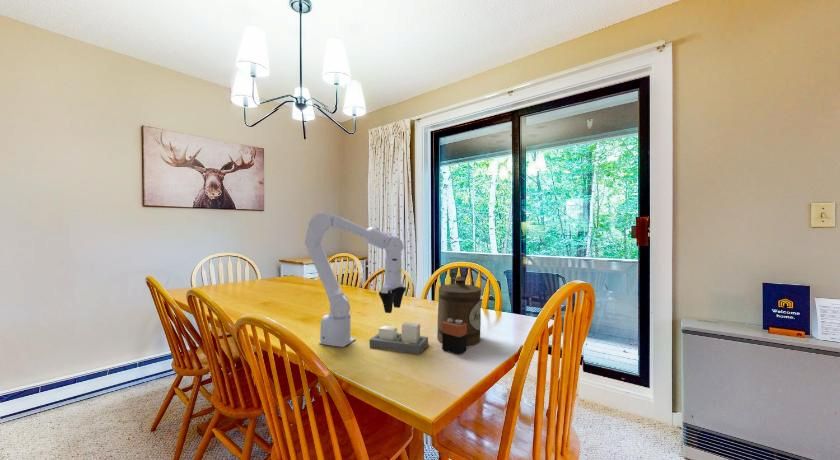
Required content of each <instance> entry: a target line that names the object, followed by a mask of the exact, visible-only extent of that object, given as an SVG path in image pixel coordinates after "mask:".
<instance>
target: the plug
mask: <svg viewBox="0 0 840 460" xmlns="http://www.w3.org/2000/svg"><path fill="white" fill-rule="evenodd" d="M401 334H402V342H408V343H415V344H418V343H419V342H420V336H421V323H417V322H407V321H406V322H404V323H402V324H401Z"/></svg>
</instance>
